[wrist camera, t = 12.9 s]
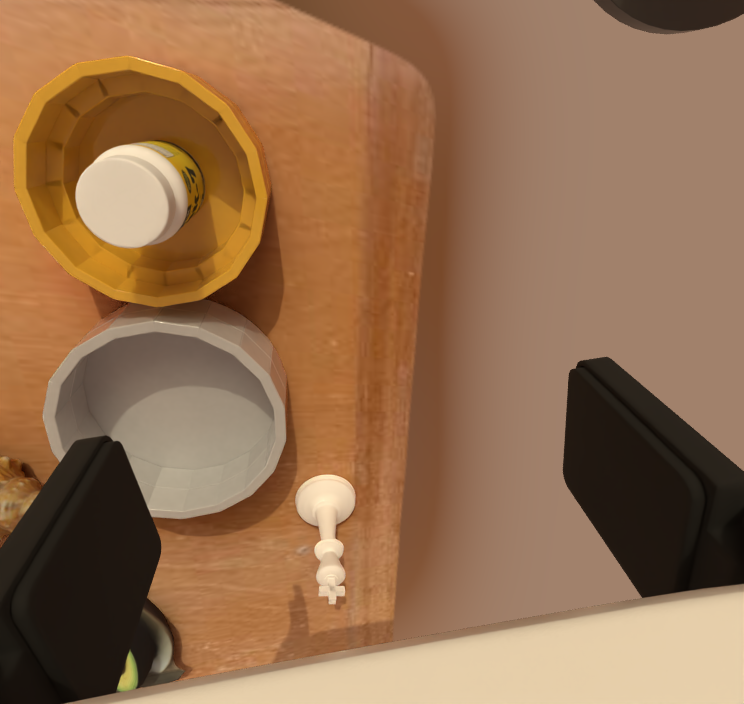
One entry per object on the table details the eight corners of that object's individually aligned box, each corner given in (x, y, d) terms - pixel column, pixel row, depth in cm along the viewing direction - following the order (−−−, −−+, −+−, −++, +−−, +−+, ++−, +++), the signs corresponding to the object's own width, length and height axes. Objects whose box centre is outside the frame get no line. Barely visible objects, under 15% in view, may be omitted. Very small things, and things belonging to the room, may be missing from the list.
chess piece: (298, 472, 41) (298, 573, 32) (359, 475, 42) (375, 574, 33) (292, 520, 43) (290, 628, 34) (351, 522, 44) (364, 627, 35)
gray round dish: (39, 315, 34) (-1, 347, 29) (263, 277, 34) (258, 302, 30) (117, 488, 40) (94, 537, 35) (305, 452, 41) (306, 495, 36)
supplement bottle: (200, 231, 32) (170, 269, 25) (119, 212, 31) (62, 245, 24) (212, 151, 30) (183, 165, 23) (126, 128, 29) (67, 134, 22)
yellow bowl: (19, 83, 28) (-34, 78, 24) (243, 50, 29) (232, 39, 24) (101, 294, 34) (70, 323, 29) (288, 262, 34) (286, 285, 30)
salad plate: (53, 733, 51) (31, 789, 46) (-115, 641, 43) (-159, 697, 39) (212, 643, 48) (204, 693, 44) (63, 528, 41) (36, 575, 37)
